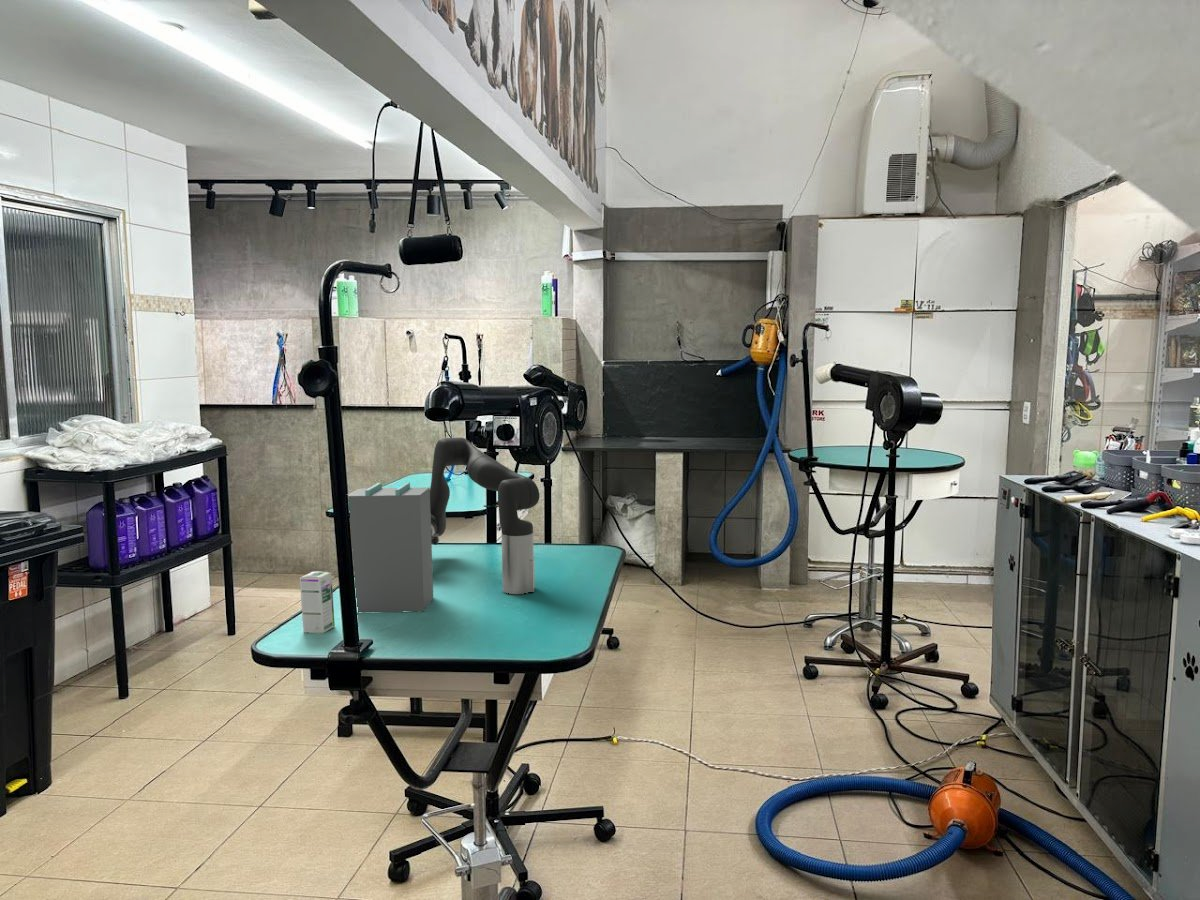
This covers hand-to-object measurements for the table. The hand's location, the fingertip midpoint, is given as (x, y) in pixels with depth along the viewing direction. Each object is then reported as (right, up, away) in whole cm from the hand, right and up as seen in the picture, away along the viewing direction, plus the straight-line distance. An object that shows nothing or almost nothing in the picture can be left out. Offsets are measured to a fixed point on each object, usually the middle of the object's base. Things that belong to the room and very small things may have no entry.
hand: (411, 544), depth 262 cm
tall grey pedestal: (+1, -14, -26) cm, 29 cm away
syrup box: (-13, -17, -47) cm, 51 cm away
